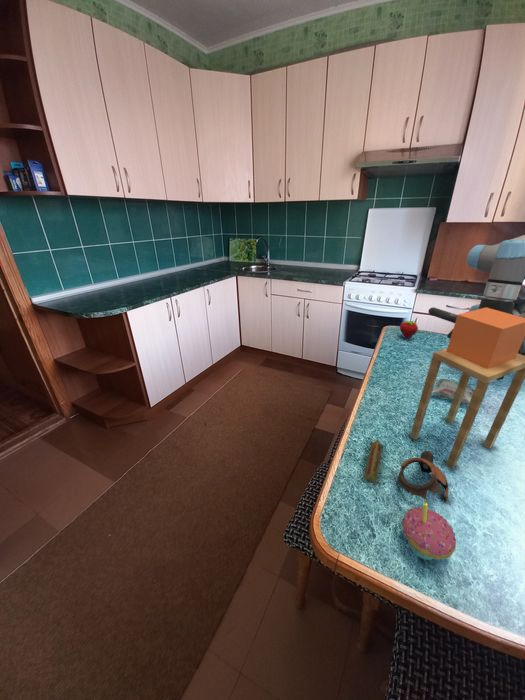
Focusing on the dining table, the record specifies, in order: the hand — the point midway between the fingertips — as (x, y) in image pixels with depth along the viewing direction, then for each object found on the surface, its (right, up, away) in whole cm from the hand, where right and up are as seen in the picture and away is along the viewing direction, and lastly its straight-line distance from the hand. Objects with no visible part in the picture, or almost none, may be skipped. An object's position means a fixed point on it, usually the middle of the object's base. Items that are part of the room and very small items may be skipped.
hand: (474, 370), depth 87 cm
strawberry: (+3, +11, +46) cm, 48 cm away
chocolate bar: (-36, -22, -16) cm, 45 cm away
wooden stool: (-14, -18, -10) cm, 25 cm away
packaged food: (-3, -10, +6) cm, 12 cm away
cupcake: (-34, -31, -33) cm, 56 cm away
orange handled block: (-17, +7, -18) cm, 25 cm away
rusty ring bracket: (-28, -25, -22) cm, 43 cm away
